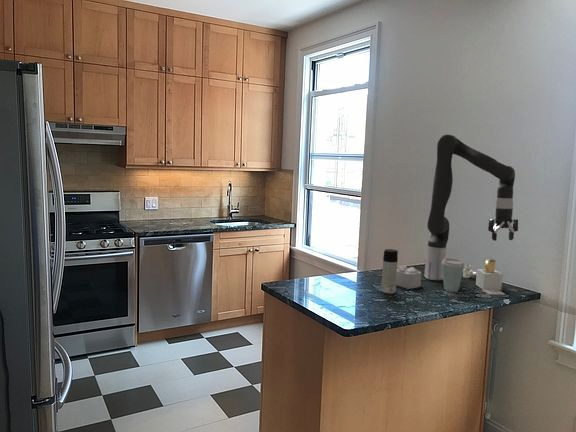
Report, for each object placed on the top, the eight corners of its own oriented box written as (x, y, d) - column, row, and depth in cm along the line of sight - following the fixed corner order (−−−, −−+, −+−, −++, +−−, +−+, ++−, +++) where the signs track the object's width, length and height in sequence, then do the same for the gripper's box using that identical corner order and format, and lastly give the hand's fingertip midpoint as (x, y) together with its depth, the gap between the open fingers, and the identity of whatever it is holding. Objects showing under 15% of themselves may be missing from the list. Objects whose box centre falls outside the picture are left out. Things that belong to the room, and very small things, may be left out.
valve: (459, 276, 259) (476, 282, 248) (460, 265, 258) (477, 270, 248) (468, 275, 262) (485, 281, 251) (469, 264, 261) (486, 269, 250)
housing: (483, 289, 235) (484, 273, 234) (475, 284, 244) (477, 269, 243) (501, 290, 235) (502, 274, 234) (493, 285, 244) (494, 269, 243)
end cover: (486, 282, 237) (488, 260, 236) (482, 280, 241) (484, 258, 240) (495, 282, 237) (497, 261, 236) (491, 280, 241) (493, 259, 240)
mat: (488, 294, 227) (488, 293, 227) (482, 290, 234) (482, 289, 233) (505, 295, 227) (505, 294, 227) (498, 290, 234) (498, 290, 234)
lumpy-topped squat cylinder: (409, 289, 231) (410, 271, 230) (388, 282, 241) (389, 266, 240) (423, 286, 237) (424, 269, 236) (402, 280, 248) (403, 263, 246)
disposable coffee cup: (466, 290, 232) (468, 260, 230) (456, 294, 224) (459, 263, 222) (445, 285, 239) (447, 256, 237) (435, 289, 231) (438, 259, 229)
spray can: (396, 291, 227) (399, 249, 224) (393, 294, 221) (396, 252, 218) (383, 289, 230) (385, 248, 227) (379, 292, 224) (382, 250, 221)
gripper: (513, 206, 236) (511, 238, 238) (486, 206, 234) (484, 239, 236) (522, 207, 229) (520, 241, 231) (495, 208, 227) (493, 241, 229)
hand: (502, 240), depth 233 cm, fingers open, 8 cm apart
